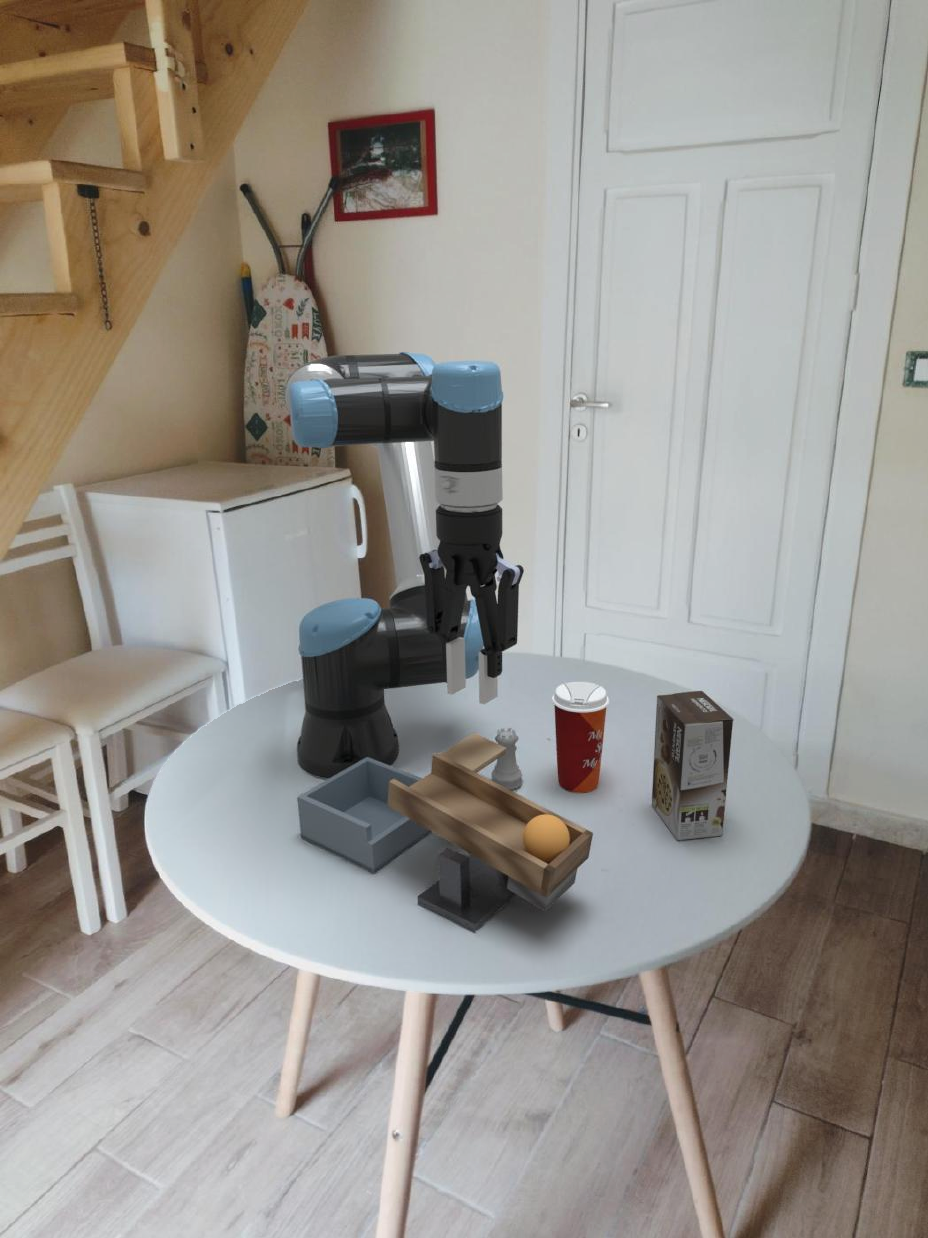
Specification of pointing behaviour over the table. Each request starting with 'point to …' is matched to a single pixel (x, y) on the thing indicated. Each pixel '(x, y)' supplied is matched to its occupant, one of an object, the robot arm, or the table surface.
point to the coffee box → (691, 764)
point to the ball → (545, 837)
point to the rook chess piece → (507, 761)
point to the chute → (489, 820)
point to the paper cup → (579, 734)
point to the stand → (466, 890)
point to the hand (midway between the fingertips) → (472, 694)
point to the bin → (359, 815)
